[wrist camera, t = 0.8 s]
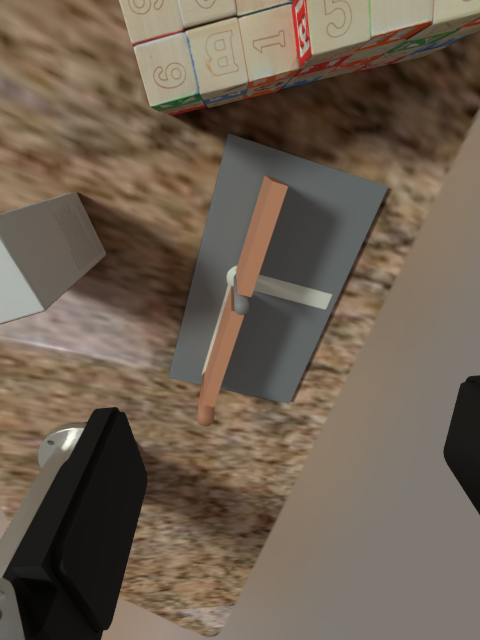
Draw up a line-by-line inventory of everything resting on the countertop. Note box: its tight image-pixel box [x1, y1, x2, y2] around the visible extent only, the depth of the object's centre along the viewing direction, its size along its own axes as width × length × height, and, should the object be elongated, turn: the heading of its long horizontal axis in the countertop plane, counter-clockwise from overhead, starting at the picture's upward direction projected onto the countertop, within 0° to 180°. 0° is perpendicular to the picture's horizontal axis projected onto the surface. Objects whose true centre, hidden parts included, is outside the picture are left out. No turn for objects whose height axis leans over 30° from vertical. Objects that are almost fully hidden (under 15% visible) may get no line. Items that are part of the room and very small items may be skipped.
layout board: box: [168, 133, 388, 404], centre depth 35 cm, size 26×15×1 cm, turn 164°
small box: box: [0, 192, 106, 324], centre depth 27 cm, size 8×6×13 cm
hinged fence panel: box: [234, 175, 288, 315], centre depth 29 cm, size 10×1×7 cm, turn 164°
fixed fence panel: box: [197, 286, 244, 426], centre depth 34 cm, size 12×2×7 cm, turn 164°
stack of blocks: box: [119, 0, 480, 116], centre depth 21 cm, size 21×6×12 cm, turn 102°
